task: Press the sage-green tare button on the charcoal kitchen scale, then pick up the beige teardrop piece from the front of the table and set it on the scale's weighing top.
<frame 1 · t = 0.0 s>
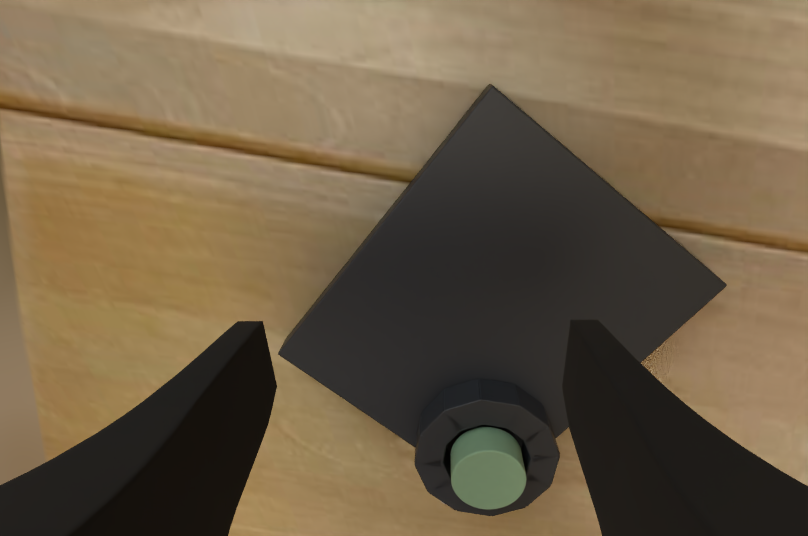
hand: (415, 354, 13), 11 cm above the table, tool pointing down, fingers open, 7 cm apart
tare button: (487, 467, 23), point 3 cm above the table, slide at 0.1 cm
scale: (488, 307, 24), on the table
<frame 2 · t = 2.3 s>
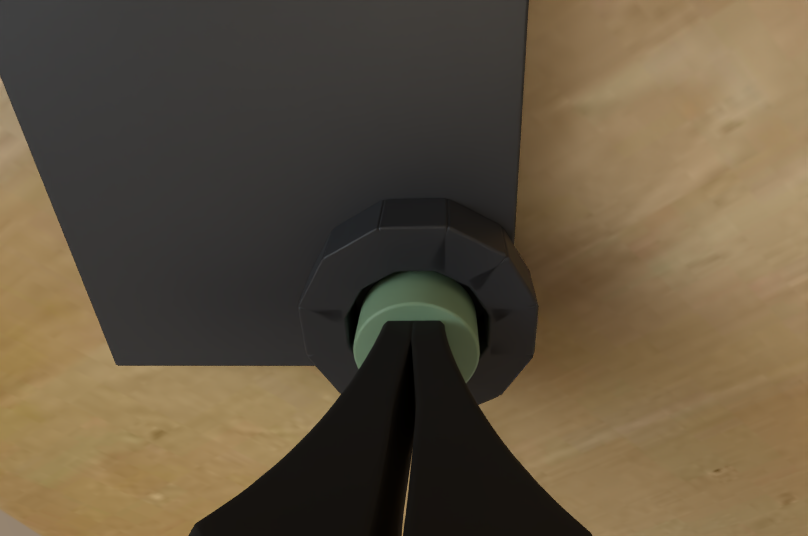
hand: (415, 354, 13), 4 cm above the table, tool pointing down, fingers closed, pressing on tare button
tare button: (417, 335, 14), point 3 cm above the table, slide at -0.1 cm, touching gripper
scale: (280, 123, 15), on the table
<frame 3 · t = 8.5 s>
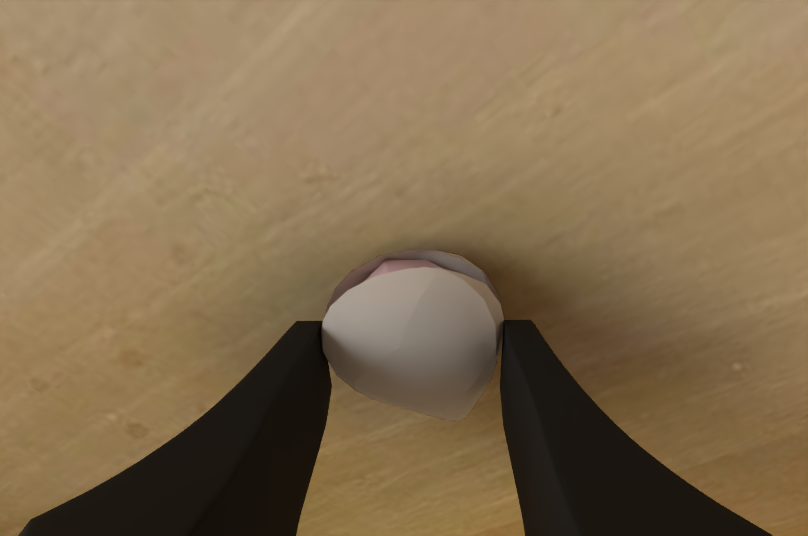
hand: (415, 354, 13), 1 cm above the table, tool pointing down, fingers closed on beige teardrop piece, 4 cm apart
beige teardrop piece: (423, 313, 15), on the table, touching gripper
when the fingers open (3 cm above the table, at t = 14.8 s): beige teardrop piece stays where it is, resting on scale.
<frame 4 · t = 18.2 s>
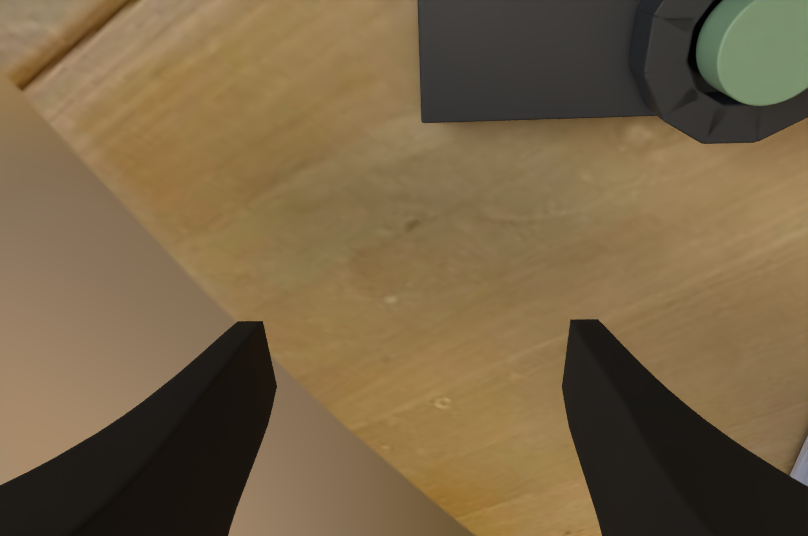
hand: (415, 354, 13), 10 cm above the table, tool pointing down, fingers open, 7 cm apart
tare button: (763, 44, 15), point 3 cm above the table, slide at 0.1 cm
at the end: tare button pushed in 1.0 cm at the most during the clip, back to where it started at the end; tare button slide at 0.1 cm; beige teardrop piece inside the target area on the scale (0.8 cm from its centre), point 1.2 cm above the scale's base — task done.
